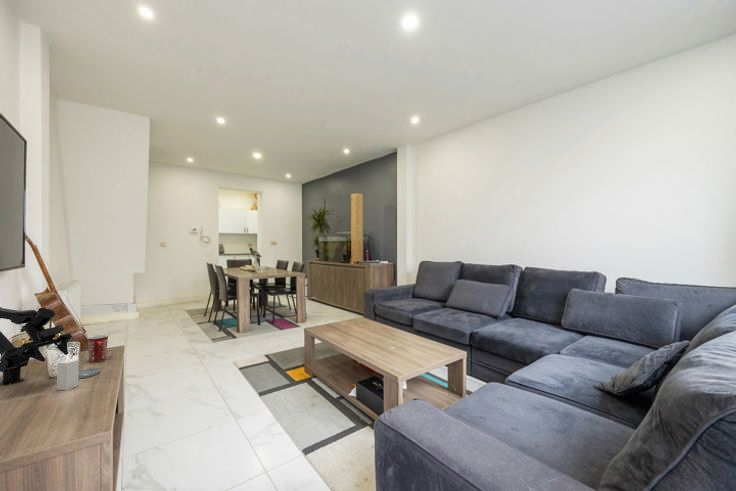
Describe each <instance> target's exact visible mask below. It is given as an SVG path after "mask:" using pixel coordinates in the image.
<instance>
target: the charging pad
mask: <svg viewBox="0 0 736 491" xmlns="http://www.w3.org/2000/svg"><path fill="white" fill-rule="evenodd" d="M99 374H100V369H99V368H97V367H93V368H85V369H79V376H78V380H81V379H88V378H92V377H95V376H96V375H99Z"/></svg>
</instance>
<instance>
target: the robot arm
mask: <svg viewBox="0 0 736 491" xmlns="http://www.w3.org/2000/svg"><path fill="white" fill-rule="evenodd" d="M55 316H56V313H55V310H51V309H49V308H46V307H45V306H44V307H39V308H38V309H37V310H35V309H26V310H18V309H17V310H16V309H11V308H5V307H4V308H3V307H2V306H1V307H0V320H1V319H4V320H10V323H12V324H15V325H22V326H21V329H20V333H24V332H25V333H26V334H27V335H28V337H29V338H28V341H29V342H24V343H22V344H21V345H20V346H18V347H17V346H14V344H13V343H12V342H11V341H10V340H9V339H8V337H7V336H5V334H4V333H3V332H2V331H1V330H0V373H2V377H1V378H2V380H0V385H3V386H7V385H11V384H14V383H15V384H16V383H19V382H23V381H25V379H24V378H22V377H21V376H22V368H23V367H27V366H28V364H29V362H30V359H33V360H37V361H38V362H39V361H40V362H42V363H44V362H45V361H46V358H45V356H44V355H43V354H42V352H41V351H40V349H39V348H42V347H46V346H50V345H54V346H56V349H58V351H60V352H61V353H62V354H64V355H65V356H67V355H68V354H69V349H68V342H69V341H70V340H71V339H72V338H73V335H72V334H71V333H63V334H61V333H62V332H63V331H64V327H63V325H62V324H58V325H56V326H53V327H49V328H45V326H46V325H48V324H49V322H50V321H52V319H53V318H54V317H55ZM23 324H24V325H23ZM58 334H60V335H59V336H58V337H57V338H56V335H58Z"/></svg>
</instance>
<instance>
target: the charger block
mask: <svg viewBox="0 0 736 491" xmlns="http://www.w3.org/2000/svg"><path fill="white" fill-rule="evenodd" d="M79 370H80V359H76V358H75V359H74V358H69V359H66V360H62V361H59V362H57V374H56V375H57V376H56V378H57V379H56V390H60V391H67V390H70V389H73V388H75V387H78V386H79V379H78V376H79Z"/></svg>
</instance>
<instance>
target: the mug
mask: <svg viewBox="0 0 736 491" xmlns="http://www.w3.org/2000/svg"><path fill="white" fill-rule="evenodd" d="M108 338H109V334H96V335H92V336H88V337H87V341H88V342H87V346H88V347H87V348H88V362H90V363H97V362H102V361H105V360H106V358H107V350H108V340H109V339H108Z"/></svg>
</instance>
